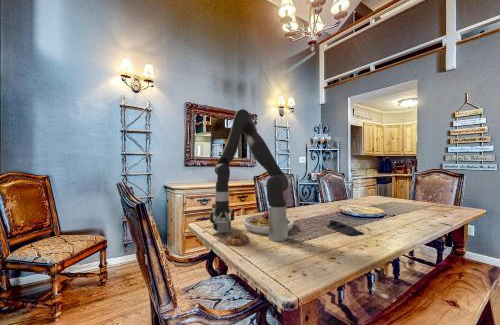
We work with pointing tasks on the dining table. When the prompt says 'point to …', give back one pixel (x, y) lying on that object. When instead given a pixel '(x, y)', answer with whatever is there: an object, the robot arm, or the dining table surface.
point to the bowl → (262, 223)
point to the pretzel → (237, 239)
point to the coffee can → (215, 216)
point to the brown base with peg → (222, 234)
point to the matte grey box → (222, 226)
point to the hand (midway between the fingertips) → (222, 229)
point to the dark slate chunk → (344, 228)
